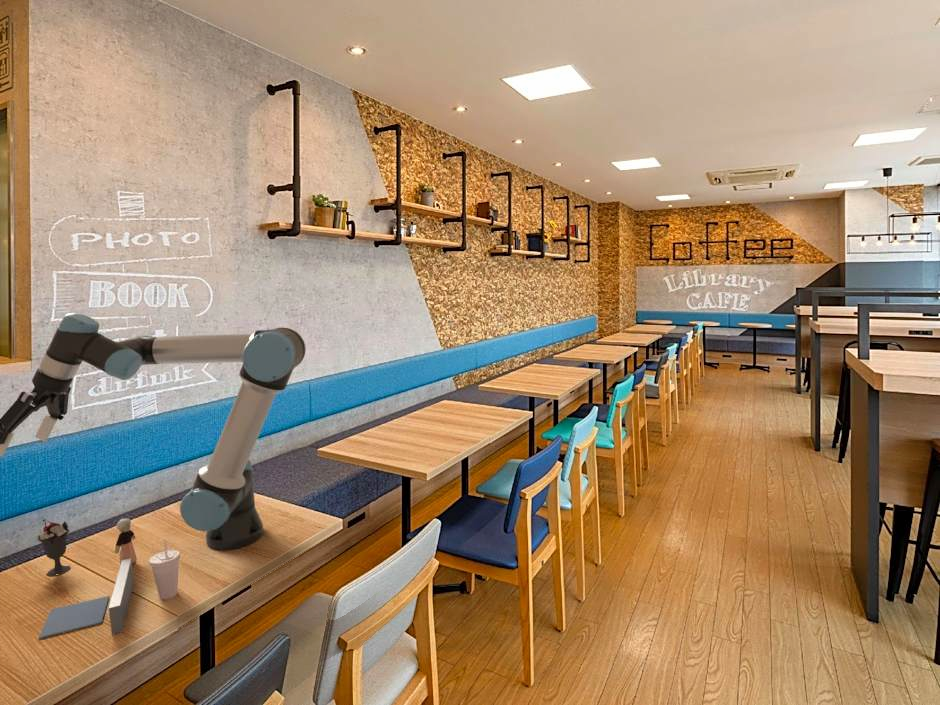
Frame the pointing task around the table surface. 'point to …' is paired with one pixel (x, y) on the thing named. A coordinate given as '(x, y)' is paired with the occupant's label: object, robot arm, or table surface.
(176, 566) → the smoothie
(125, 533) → the grandmother figurine
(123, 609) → the divider wall
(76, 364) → the robot arm
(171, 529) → the table surface
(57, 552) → the sundae
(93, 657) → the table surface
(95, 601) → the mat
